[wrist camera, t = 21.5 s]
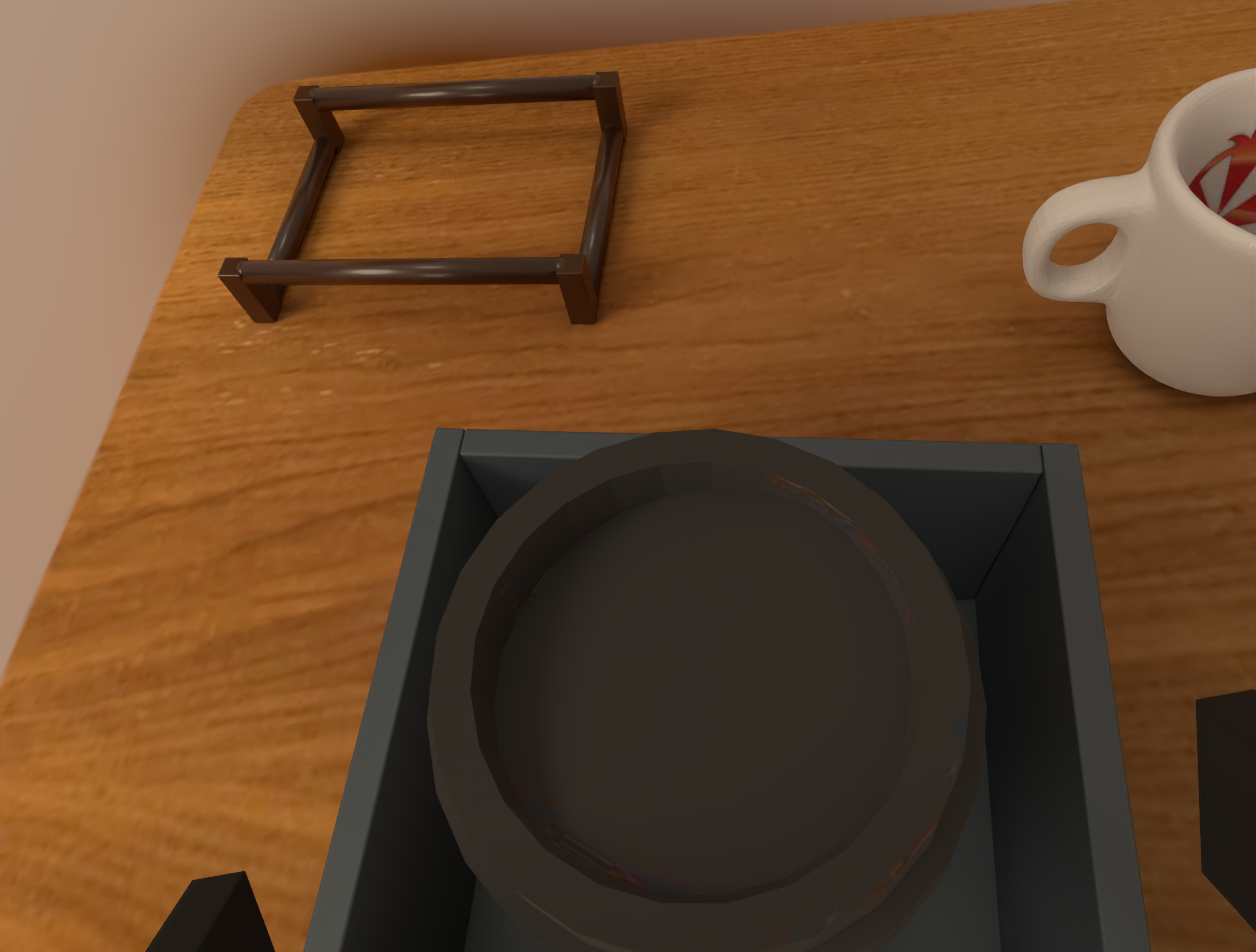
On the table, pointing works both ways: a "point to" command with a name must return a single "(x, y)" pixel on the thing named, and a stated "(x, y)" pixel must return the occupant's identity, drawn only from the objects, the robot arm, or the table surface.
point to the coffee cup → (705, 705)
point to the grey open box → (1008, 660)
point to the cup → (1172, 245)
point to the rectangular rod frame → (573, 272)
